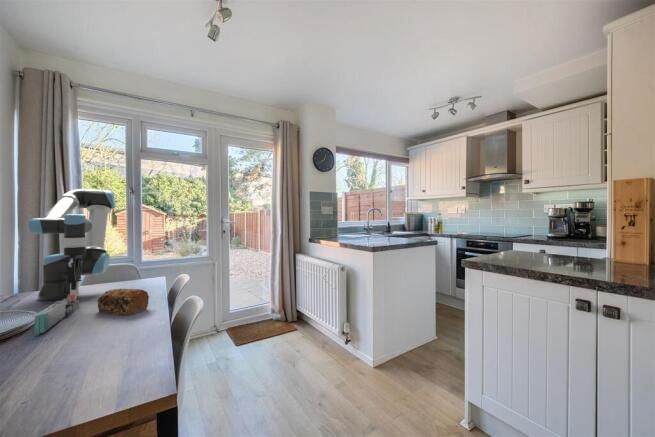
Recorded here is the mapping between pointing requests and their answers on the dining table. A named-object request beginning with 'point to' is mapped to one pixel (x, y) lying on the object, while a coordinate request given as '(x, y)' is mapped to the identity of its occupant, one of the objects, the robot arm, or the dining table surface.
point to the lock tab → (72, 297)
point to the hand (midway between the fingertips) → (74, 295)
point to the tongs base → (69, 310)
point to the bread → (123, 301)
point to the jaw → (54, 314)
